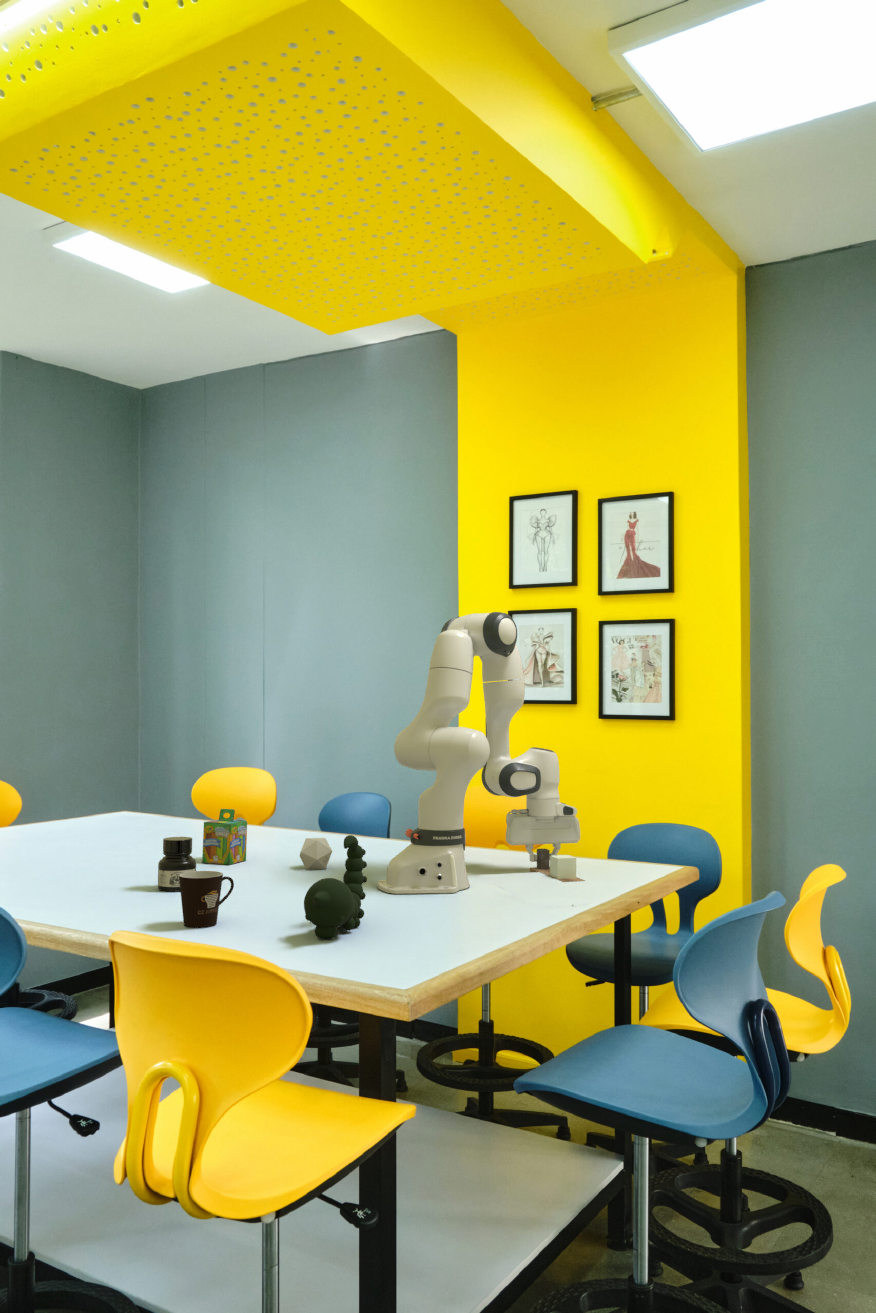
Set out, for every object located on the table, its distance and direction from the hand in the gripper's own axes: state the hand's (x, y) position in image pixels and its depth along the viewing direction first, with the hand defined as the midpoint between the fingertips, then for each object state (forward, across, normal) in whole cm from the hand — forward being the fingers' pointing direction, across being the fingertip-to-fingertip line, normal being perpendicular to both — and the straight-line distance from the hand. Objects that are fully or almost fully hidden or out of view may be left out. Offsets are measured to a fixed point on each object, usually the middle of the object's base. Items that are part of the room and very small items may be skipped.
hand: (543, 860), depth 259 cm
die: (+3, -57, +23) cm, 62 cm away
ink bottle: (+3, -94, +2) cm, 94 cm away
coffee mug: (+3, -89, -39) cm, 97 cm away
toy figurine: (+3, -65, -52) cm, 83 cm away
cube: (+2, 0, -13) cm, 13 cm away
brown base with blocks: (+3, 0, -9) cm, 10 cm away
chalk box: (+3, -80, +40) cm, 90 cm away
